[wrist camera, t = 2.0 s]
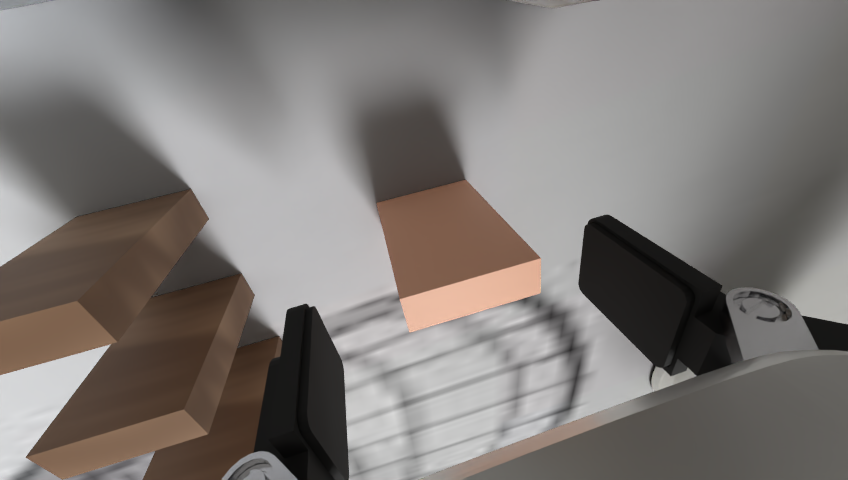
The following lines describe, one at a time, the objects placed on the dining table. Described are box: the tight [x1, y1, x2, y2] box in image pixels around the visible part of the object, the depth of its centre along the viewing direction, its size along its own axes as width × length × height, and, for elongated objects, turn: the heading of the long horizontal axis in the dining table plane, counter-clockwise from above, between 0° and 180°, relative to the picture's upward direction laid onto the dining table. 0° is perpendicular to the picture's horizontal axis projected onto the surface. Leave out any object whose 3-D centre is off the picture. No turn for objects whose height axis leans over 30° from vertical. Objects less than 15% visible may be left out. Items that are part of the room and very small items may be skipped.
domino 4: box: [377, 180, 541, 332], centre depth 15 cm, size 2×5×8 cm, turn 100°
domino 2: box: [26, 273, 255, 480], centre depth 15 cm, size 2×5×8 cm, turn 101°
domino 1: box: [0, 189, 209, 375], centre depth 12 cm, size 2×5×8 cm, turn 100°
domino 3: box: [143, 336, 282, 480], centre depth 18 cm, size 2×5×8 cm, turn 100°
